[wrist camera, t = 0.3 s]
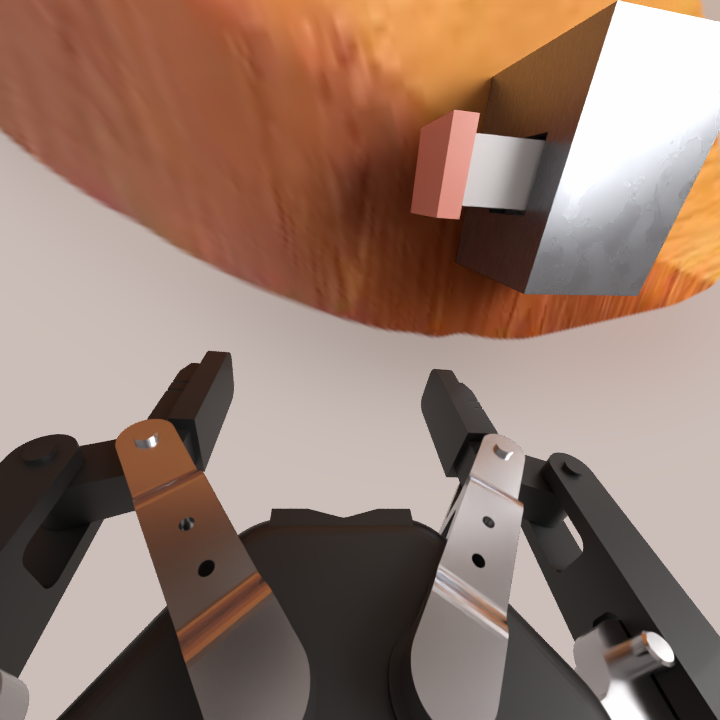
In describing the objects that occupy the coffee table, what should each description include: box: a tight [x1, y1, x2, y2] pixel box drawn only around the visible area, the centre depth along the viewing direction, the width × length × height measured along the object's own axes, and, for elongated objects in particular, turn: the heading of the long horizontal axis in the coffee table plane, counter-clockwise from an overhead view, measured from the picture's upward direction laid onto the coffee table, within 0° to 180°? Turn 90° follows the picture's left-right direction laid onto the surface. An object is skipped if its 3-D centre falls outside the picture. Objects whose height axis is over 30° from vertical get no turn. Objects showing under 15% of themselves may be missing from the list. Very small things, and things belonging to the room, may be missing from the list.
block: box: [456, 1, 720, 296], centre depth 30 cm, size 18×12×14 cm, turn 177°
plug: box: [411, 110, 546, 219], centre depth 28 cm, size 7×14×7 cm, turn 87°
